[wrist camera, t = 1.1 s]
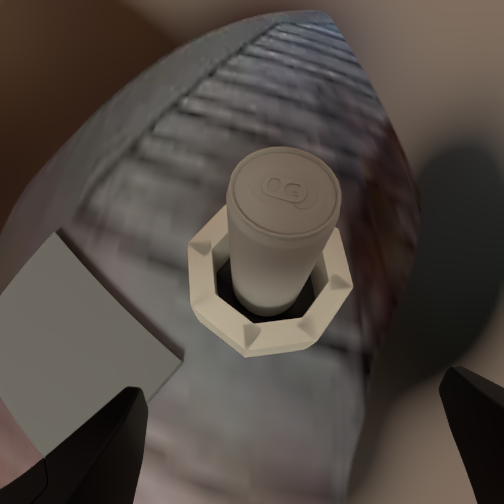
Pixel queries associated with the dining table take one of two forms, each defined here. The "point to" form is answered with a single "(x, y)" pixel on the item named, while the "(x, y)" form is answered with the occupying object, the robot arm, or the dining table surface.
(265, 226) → the beverage can
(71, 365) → the rubber mat
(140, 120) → the dining table surface
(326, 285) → the holder ring
